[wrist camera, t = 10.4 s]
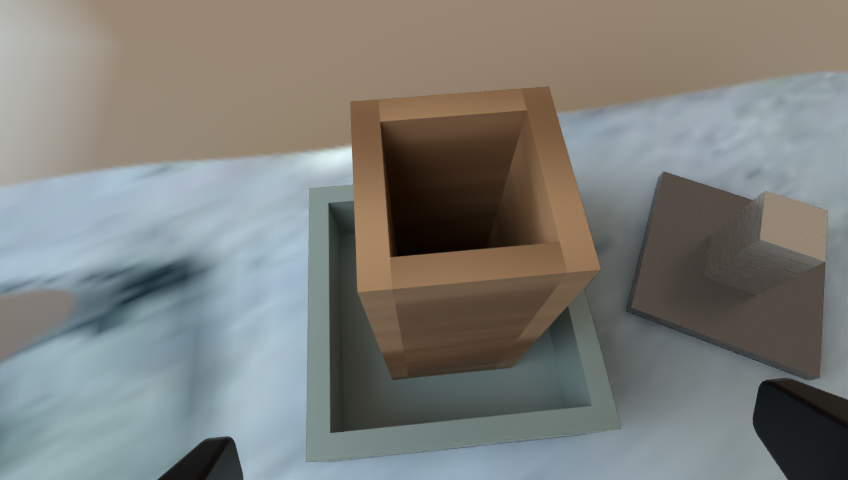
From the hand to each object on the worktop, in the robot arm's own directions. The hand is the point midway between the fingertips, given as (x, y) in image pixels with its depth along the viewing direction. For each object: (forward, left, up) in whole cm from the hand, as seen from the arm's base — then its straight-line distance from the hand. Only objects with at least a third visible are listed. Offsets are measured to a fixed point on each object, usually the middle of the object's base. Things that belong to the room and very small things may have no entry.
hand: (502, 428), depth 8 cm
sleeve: (+5, -1, -11) cm, 13 cm away
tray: (+5, -1, -12) cm, 13 cm away
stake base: (+4, -15, -12) cm, 20 cm away
